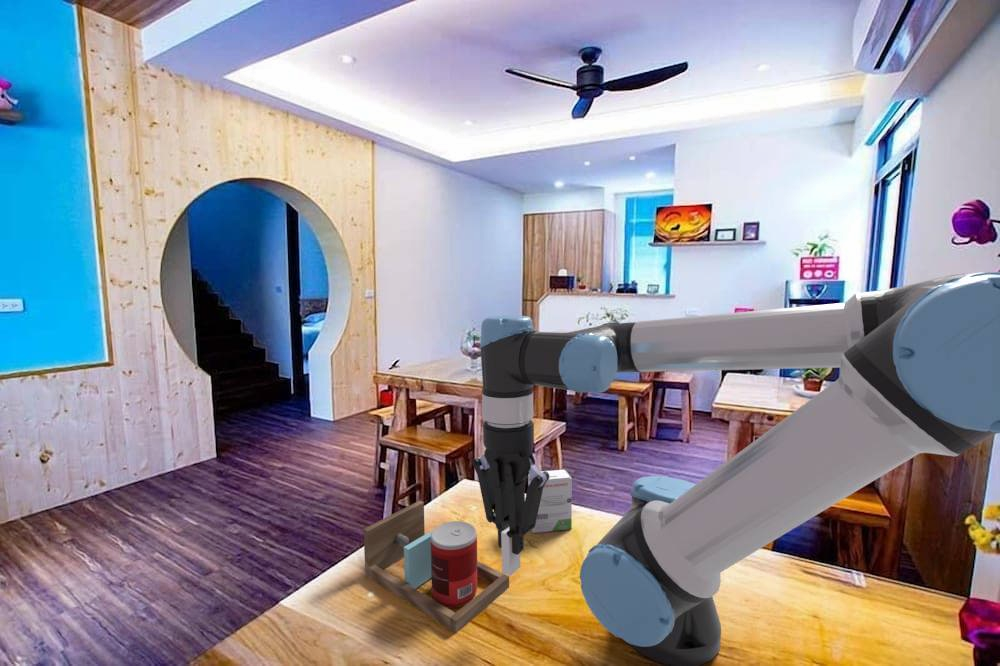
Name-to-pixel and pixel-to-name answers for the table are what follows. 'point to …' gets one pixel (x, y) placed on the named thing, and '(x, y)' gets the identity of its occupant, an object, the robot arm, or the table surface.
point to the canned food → (454, 563)
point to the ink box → (555, 503)
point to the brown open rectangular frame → (388, 548)
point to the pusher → (418, 561)
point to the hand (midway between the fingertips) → (511, 569)
